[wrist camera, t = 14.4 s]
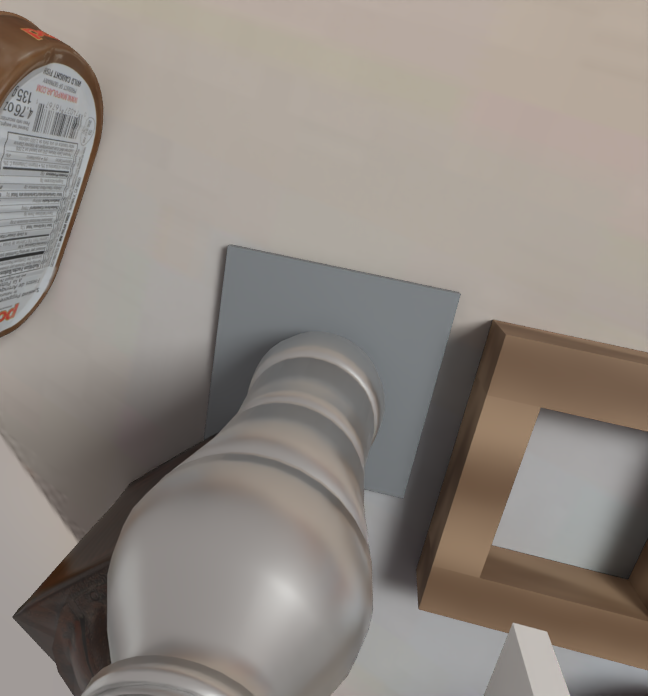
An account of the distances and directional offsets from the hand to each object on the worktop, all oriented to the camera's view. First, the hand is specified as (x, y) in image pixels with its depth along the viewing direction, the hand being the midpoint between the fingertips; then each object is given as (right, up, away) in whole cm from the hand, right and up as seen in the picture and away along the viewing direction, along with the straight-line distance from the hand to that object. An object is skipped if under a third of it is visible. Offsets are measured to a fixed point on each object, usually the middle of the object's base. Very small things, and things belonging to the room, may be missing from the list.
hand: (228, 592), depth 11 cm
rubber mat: (+2, +4, +15) cm, 16 cm away
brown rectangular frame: (+16, -2, +14) cm, 22 cm away
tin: (-12, +14, +14) cm, 23 cm away
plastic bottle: (+2, +4, +14) cm, 15 cm away
